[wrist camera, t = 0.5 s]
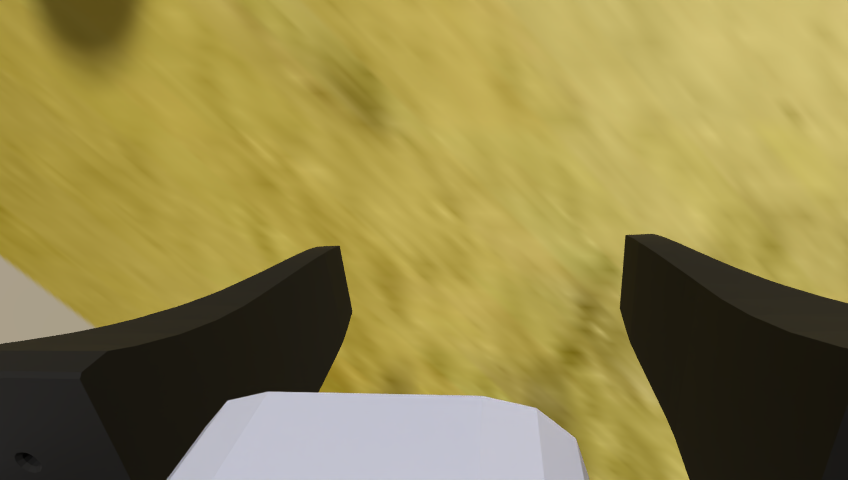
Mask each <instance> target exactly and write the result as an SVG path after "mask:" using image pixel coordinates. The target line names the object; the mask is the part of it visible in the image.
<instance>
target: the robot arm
mask: <svg viewBox="0 0 848 480" xmlns="http://www.w3.org/2000/svg"><path fill="white" fill-rule="evenodd" d="M620 310H621V314H622V317H623V321H624V324H625V328H626V331H627V334H628V337H629V340H630V343H631V345H632V347H633V349H634V352H635V354H636V356H637V358H638V360H639V362H640V364H641V366H642V369H643V371H644V373H645V375H646V377H647V379H648V381H649V383H650V385H651V387H652V389H653V391H654V393H655V395H656V397H657V399H658V401H659V404H660V406H661V408H662V410H663V412H664V414H665V416H666V418H667V420H668V423H669V425H670V427H671V430H672V432H673V434H674V437H675V439H676V442H677V445H678V448H679V451H680V454H681V457H682V459H683V462H684V465H685V468H686V471H687V474H688V477H689V479H690V480H848V303H844V302H840V301H837V300H833V299H829V298H825V297H821V296H818V295H814V294H811V293H808V292H804V291H801V290H798V289H794V288H791V287H788V286H784V285H781V284H778V283H775V282H773V281H770V280H767V279H764V278H761V277H759V276H756V275H753V274H751V273H748V272H745V271H743V270H740V269H738V268H735V267H733V266H730V265H728V264H725V263H723V262H721V261H718V260H716V259H713V258H711V257H709V256H707V255H704V254H702V253H700V252H697V251H695V250H693V249H691V248H688V247H686V246H684V245H682V244H679V243H677V242H675V241H672V240H670V239H667V238H665V237H662V236H659V235H655V234H641V235H626V237H625V250H624V263H623V275H622V288H621V301H620ZM351 314H352V307H351V302H350V297H349V292H348V287H347V282H346V276H345V271H344V266H343V261H342V256H341V251H340V246H323V247H315V248H312V249H309V250H306V251H304V252H302V253H299V254H297V255H295V256H293V257H291V258H289V259H287V260H285V261H283V262H281V263H279V264H277V265H275V266H273V267H271V268H269V269H267V270H265V271H262V272H260V273H258V274H256V275H254V276H252V277H250V278H247V279H245V280H243V281H241V282H239V283H237V284H234V285H232V286H230V287H228V288H226V289H223V290H221V291H218V292H216V293H213V294H211V295H208V296H206V297H203V298H200V299H198V300H195V301H192V302H189V303H187V304H184V305H181V306H178V307H174V308H171V309H167V310H164V311H161V312H157V313H154V314H150V315H147V316H144V317H140V318H137V319H133V320H129V321H125V322H121V323H116V324H112V325H108V326H103V327H99V328H94V329H89V330H85V331H80V332H74V333H69V334H63V335H56V336H50V337H44V338H37V339H31V340H25V341H18V342H11V343H4V344H0V480H589V476H588V473H587V470H586V467H585V464H584V461H583V458H582V455H581V452H580V449H579V446H578V443H577V440H576V438H575V437H573V436H572V435H571V434H569V433H568V432H567V431H566V430H564V429H563V428H562V427H560V426H559V425H558V424H556V423H555V422H554V421H553V420H551V419H550V418H549V417H547V416H546V415H545V414H543V413H542V412H541V411H540V410H538V409H537V408H534V407H529V406H525V405H520V404H516V403H511V402H507V401H502V400H498V399H493V398H489V397H485V396H459V395H410V394H361V393H318V392H319V390H320V388H321V386H322V384H323V382H324V380H325V378H326V376H327V374H328V372H329V370H330V368H331V366H332V364H333V362H334V360H335V358H336V356H337V354H338V351H339V349H340V347H341V345H342V343H343V340H344V337H345V334H346V331H347V328H348V325H349V321H350V318H351Z"/></svg>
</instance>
